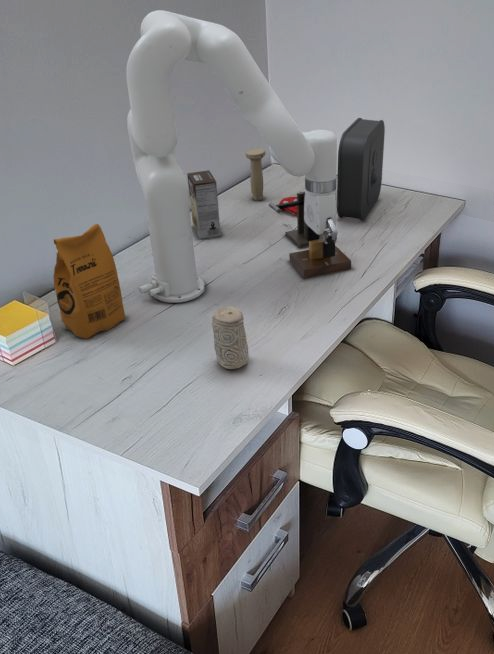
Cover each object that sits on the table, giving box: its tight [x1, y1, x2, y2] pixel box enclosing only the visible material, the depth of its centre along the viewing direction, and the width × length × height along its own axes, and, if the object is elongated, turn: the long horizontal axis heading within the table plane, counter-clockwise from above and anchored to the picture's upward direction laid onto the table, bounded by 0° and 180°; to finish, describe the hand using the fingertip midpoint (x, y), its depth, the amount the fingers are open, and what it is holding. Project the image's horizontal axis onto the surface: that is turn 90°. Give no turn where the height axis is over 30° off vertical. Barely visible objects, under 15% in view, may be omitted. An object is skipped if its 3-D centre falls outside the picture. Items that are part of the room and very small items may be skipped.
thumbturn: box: [308, 237, 328, 260], centre depth 169 cm, size 6×2×5 cm, turn 114°
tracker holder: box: [278, 190, 302, 216], centre depth 202 cm, size 12×4×10 cm
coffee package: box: [52, 223, 126, 340], centre depth 142 cm, size 10×12×22 cm
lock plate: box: [288, 245, 352, 280], centre depth 171 cm, size 13×10×3 cm
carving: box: [211, 306, 249, 370], centre depth 133 cm, size 6×8×12 cm
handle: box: [245, 147, 266, 201], centre depth 205 cm, size 5×6×15 cm
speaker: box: [336, 117, 386, 221], centre depth 196 cm, size 25×9×25 cm, turn 162°
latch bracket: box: [284, 191, 330, 249], centre depth 182 cm, size 10×9×13 cm
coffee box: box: [186, 169, 221, 240], centre depth 184 cm, size 9×6×16 cm
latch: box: [268, 196, 305, 214], centre depth 177 cm, size 12×5×2 cm, turn 119°
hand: (320, 248), depth 169 cm, fingers open, 9 cm apart
